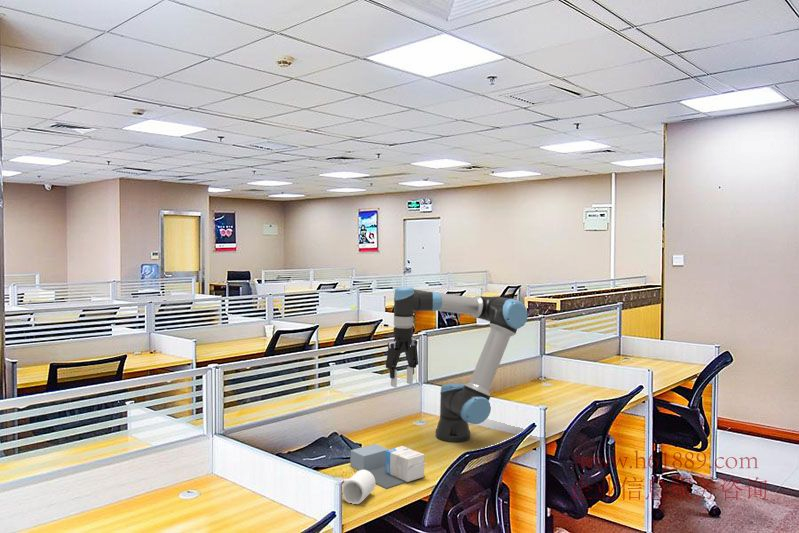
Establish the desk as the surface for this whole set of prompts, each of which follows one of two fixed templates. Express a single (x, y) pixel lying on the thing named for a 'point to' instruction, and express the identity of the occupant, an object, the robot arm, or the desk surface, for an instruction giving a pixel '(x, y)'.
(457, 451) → the desk surface
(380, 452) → the step
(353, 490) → the mug
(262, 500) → the desk surface
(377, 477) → the mat
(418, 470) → the ink box
